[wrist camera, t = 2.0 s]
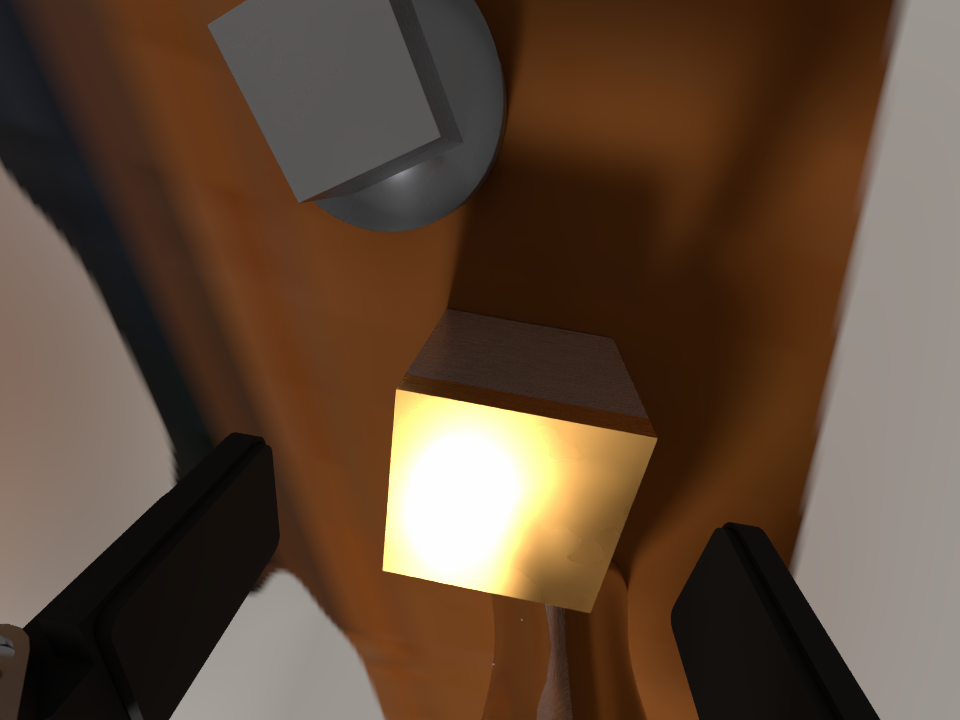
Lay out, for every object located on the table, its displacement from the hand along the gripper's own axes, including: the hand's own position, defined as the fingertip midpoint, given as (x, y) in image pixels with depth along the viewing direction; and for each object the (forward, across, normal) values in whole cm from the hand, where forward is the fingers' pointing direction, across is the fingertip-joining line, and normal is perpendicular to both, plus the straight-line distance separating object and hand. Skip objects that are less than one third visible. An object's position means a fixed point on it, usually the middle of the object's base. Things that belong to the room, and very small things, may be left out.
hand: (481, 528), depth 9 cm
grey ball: (+8, +4, -8) cm, 12 cm away
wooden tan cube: (+7, -1, +1) cm, 7 cm away
